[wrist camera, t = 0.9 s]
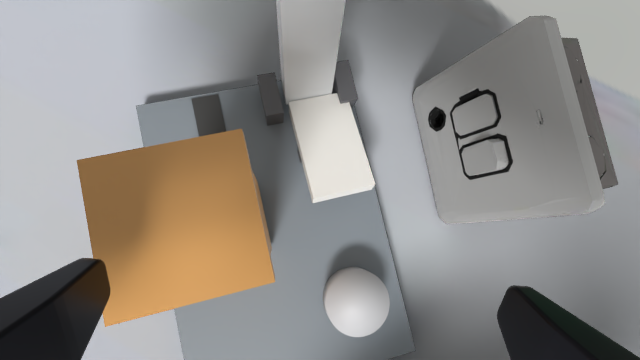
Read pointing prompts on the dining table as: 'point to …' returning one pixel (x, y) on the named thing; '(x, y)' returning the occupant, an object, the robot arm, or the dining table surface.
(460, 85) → the electrical switch
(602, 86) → the dining table surface
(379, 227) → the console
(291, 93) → the toggle lever
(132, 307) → the slider knob
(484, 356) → the dining table surface
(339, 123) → the block
